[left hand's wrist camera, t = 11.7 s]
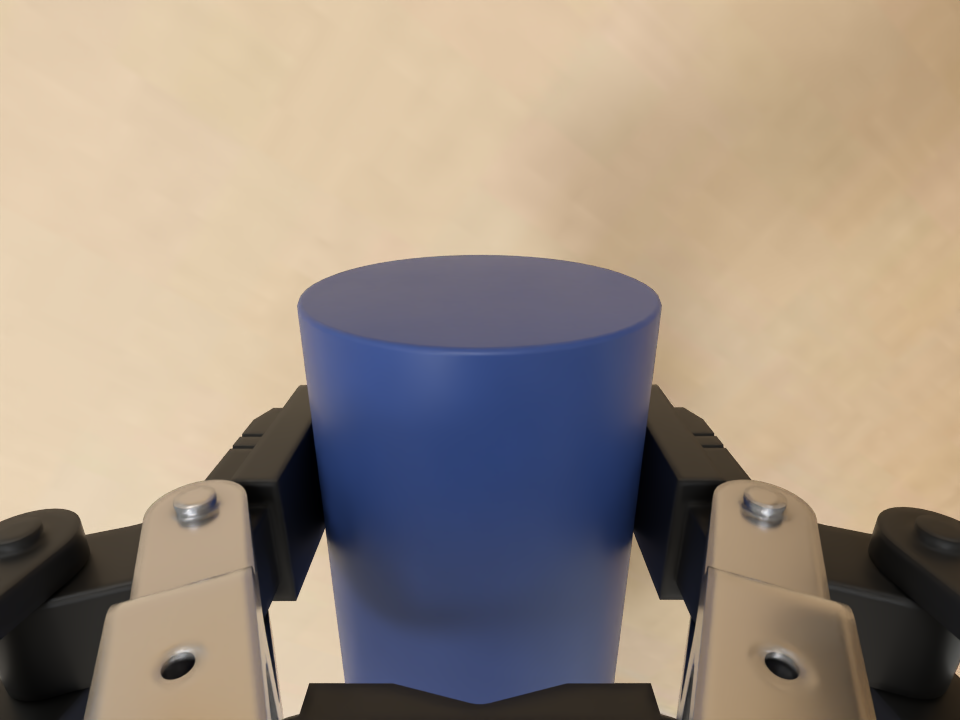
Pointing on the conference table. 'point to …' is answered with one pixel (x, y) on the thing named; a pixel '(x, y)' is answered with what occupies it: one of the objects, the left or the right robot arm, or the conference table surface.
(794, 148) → the conference table surface
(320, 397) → the rod
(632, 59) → the conference table surface
